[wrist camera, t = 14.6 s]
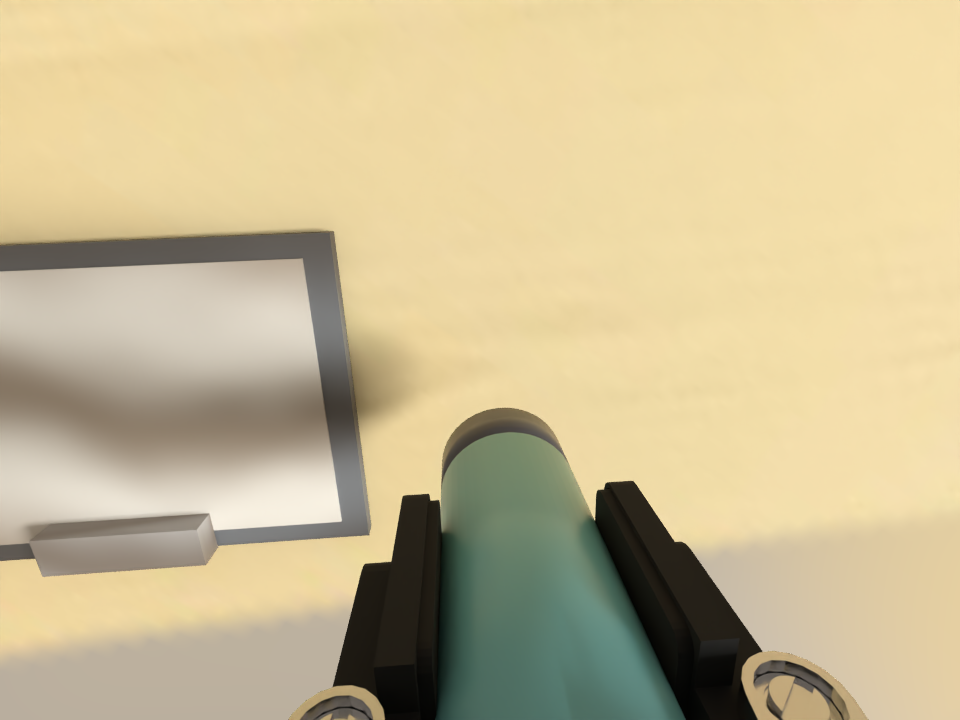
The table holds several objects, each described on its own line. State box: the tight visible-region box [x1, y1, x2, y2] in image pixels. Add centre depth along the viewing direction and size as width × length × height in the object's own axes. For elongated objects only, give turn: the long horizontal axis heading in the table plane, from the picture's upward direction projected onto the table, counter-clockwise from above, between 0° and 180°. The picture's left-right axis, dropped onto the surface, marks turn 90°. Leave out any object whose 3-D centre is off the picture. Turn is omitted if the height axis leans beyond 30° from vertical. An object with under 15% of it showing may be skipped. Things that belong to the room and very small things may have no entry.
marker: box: [435, 408, 686, 720], centre depth 8 cm, size 4×4×12 cm
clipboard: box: [0, 232, 371, 577], centre depth 17 cm, size 12×18×2 cm, turn 92°
